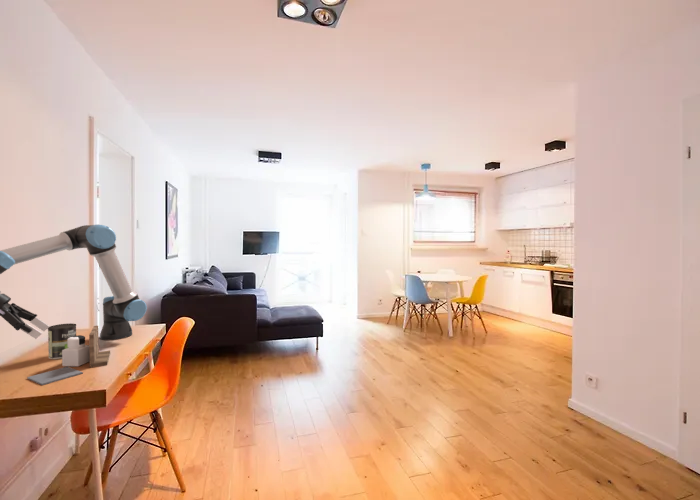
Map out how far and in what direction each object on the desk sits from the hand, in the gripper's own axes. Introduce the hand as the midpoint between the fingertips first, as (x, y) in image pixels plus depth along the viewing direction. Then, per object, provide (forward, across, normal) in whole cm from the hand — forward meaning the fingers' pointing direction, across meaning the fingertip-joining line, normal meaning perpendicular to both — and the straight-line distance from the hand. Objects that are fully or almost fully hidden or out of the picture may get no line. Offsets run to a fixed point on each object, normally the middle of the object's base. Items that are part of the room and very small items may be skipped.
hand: (43, 332), depth 145 cm
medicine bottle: (+19, 0, -3) cm, 19 cm away
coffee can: (+14, -17, -8) cm, 23 cm away
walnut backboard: (+24, 0, +3) cm, 25 cm away
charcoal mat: (+15, +13, -7) cm, 21 cm away
